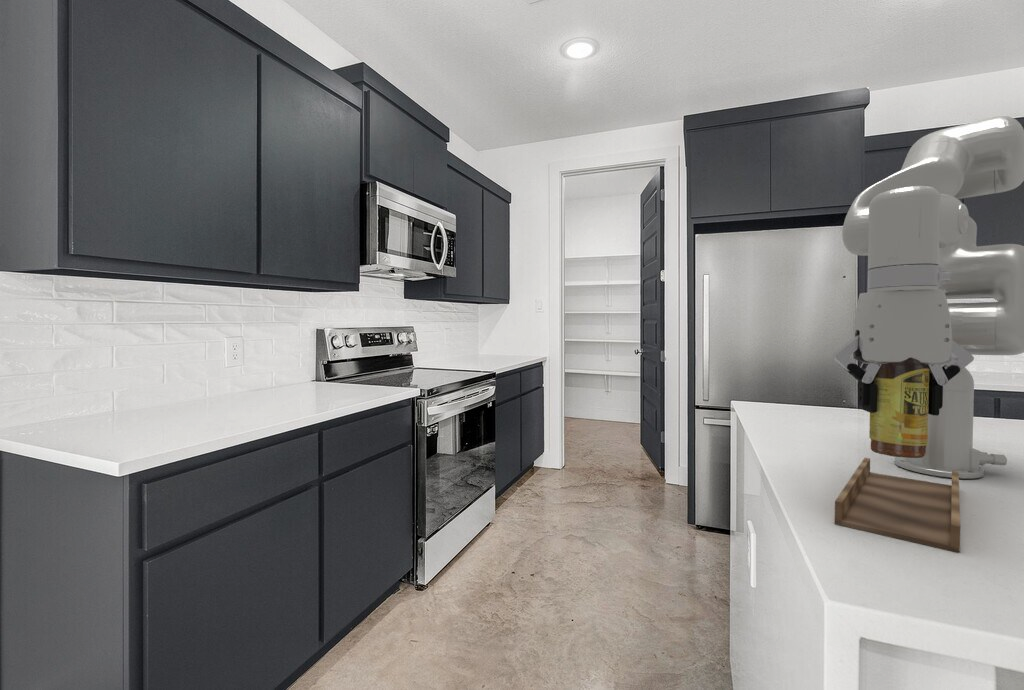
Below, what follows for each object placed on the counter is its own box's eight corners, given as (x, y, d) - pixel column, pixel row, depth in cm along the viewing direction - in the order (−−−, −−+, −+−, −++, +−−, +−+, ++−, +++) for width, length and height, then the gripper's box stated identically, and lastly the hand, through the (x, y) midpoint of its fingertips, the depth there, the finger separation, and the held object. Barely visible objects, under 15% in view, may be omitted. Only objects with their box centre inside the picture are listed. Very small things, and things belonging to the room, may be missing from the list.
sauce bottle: (913, 462, 61) (914, 308, 61) (859, 452, 66) (860, 311, 66) (937, 456, 64) (939, 309, 64) (884, 447, 69) (885, 312, 69)
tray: (864, 474, 87) (864, 457, 87) (958, 490, 79) (958, 471, 79) (834, 523, 66) (834, 501, 65) (959, 552, 57) (960, 526, 57)
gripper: (964, 282, 65) (961, 411, 66) (820, 286, 71) (818, 405, 71) (1000, 276, 58) (996, 421, 59) (837, 281, 64) (835, 413, 64)
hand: (898, 411), depth 65 cm, fingers closed on sauce bottle, 6 cm apart
